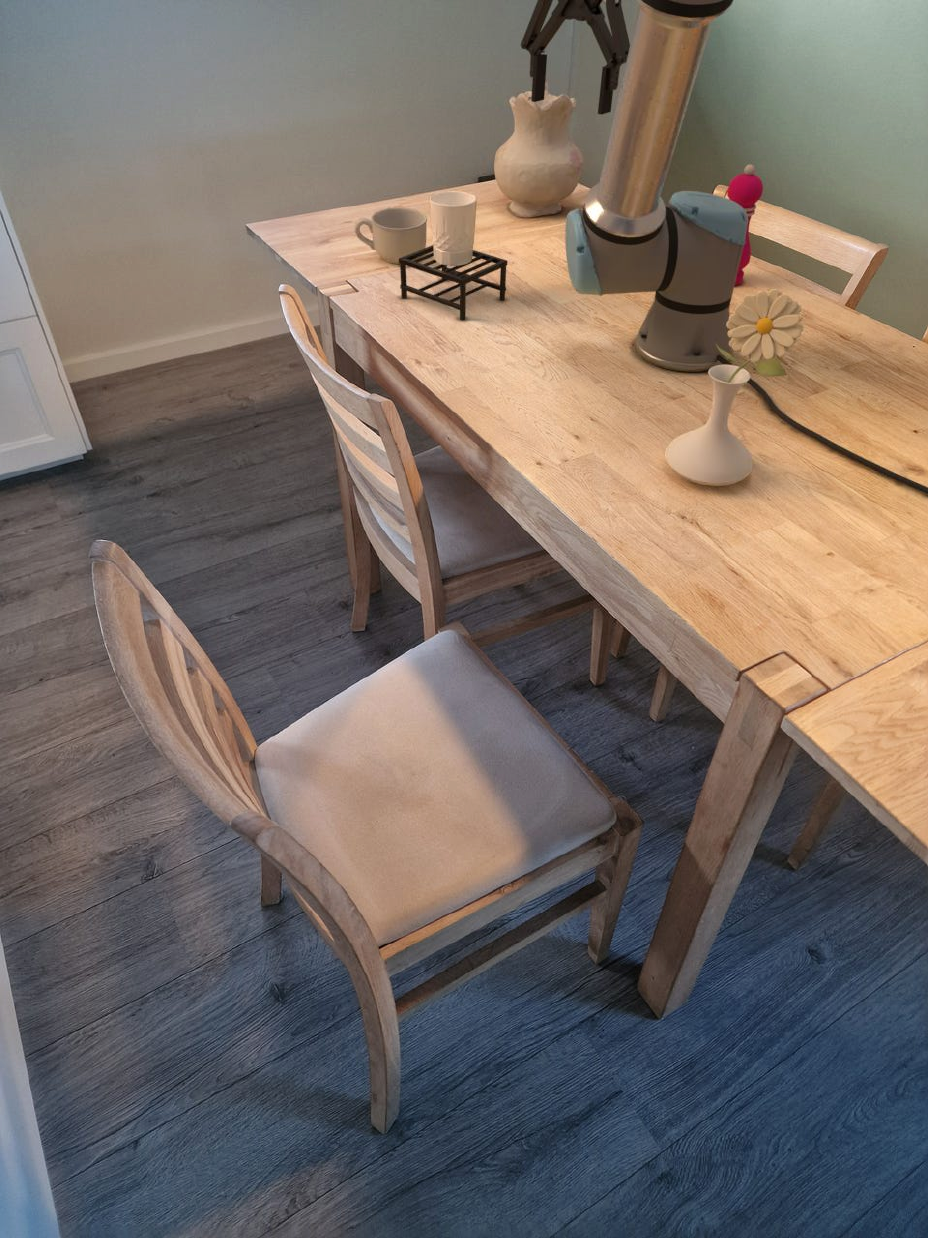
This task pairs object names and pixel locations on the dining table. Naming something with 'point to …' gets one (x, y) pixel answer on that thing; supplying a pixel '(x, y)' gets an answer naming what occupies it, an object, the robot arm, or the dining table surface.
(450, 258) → the white cup
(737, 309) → the flower in vase
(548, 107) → the ceramic pitcher
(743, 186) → the pepper mill
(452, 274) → the wire rack
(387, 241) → the teacup
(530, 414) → the dining table surface
